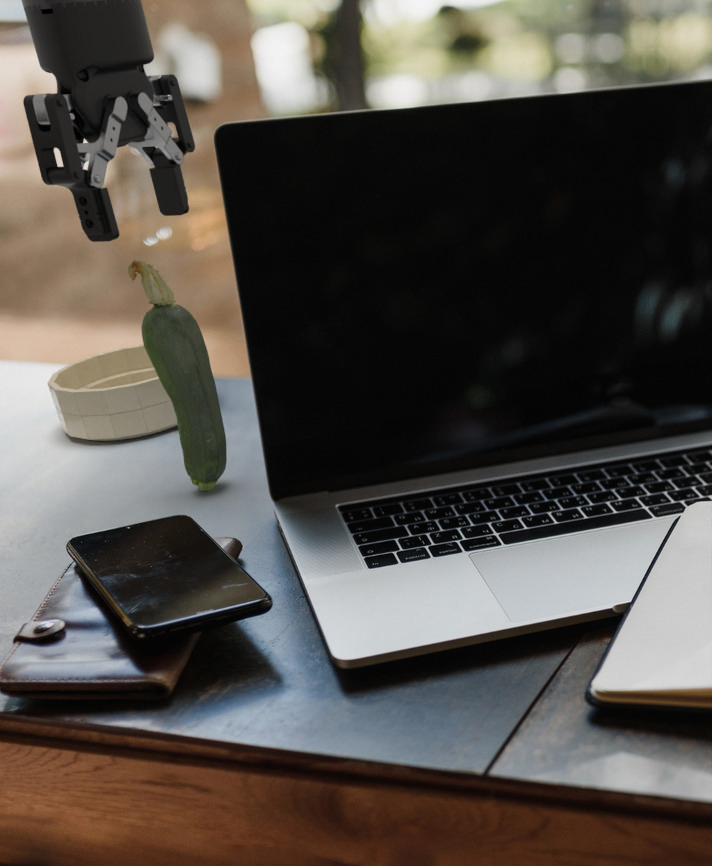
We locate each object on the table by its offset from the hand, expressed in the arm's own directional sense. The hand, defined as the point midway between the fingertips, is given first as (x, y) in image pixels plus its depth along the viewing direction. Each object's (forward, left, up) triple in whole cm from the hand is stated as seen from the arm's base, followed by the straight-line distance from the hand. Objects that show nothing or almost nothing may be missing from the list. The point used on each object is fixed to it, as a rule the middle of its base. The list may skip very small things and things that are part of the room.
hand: (141, 227), depth 82 cm
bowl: (-8, +23, -22) cm, 33 cm away
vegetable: (0, 0, -23) cm, 23 cm away
